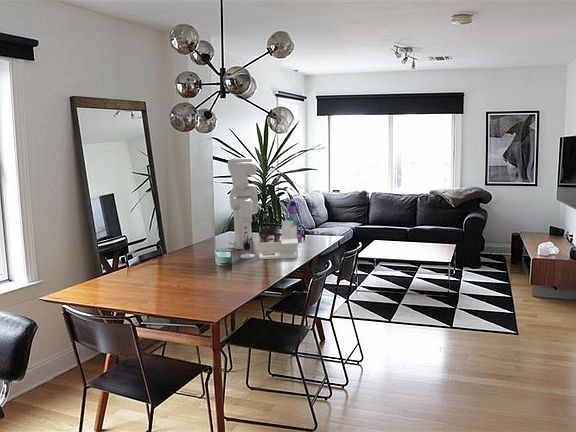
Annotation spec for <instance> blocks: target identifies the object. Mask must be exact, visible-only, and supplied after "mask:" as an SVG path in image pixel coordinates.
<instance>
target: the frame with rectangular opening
mask: <svg viewBox="0 0 576 432" xmlns="http://www.w3.org/2000/svg"><path fill="white" fill-rule="evenodd" d="M298 246H299V245H294V246H280V241H274V242H273V241H272V242H268V241H267V242H259V243H258V247H257V252H258V253H257V257H258V260H271V259H272V260H273V259H274V260H275V259H298V258H299V248H298Z"/></svg>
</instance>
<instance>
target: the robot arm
mask: <svg viewBox="0 0 576 432" xmlns="http://www.w3.org/2000/svg"><path fill="white" fill-rule="evenodd" d="M227 168H228V171H229V174H230V177H231V179H232V180H231V182H232V188H231V189H230V192H229V206H230V209H231V210H232V215H233V225H234V241H228V245H229V246H232V248H233V249H237V250H243V240H244V250H250V245H249V240H251V239H252V234H253V233H252V223H253V215H256V214H258V213H259V200H258V188H257V186H256V185H255V184H253V183H249V177H248V176H254V175H256V173H257V165H256V163H255V160H254V158H253V157H233V158H230V159H229V160H228V161H227Z"/></svg>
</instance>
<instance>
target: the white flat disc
mask: <svg viewBox="0 0 576 432" xmlns="http://www.w3.org/2000/svg"><path fill="white" fill-rule="evenodd" d="M254 258H256V254H254V253H253V254H252V253H243V254H241V255H240V259H245V260H247V259H254Z"/></svg>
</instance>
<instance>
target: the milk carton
mask: <svg viewBox="0 0 576 432" xmlns="http://www.w3.org/2000/svg"><path fill="white" fill-rule="evenodd" d="M280 228H281V230H280V231H281V236H282V239H297V234H298V233H297V227H296V225H295V224H294V223H293V221H288V220H287V221H286V219H285V220H284V221H283V223H282V226H281V227H280Z"/></svg>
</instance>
